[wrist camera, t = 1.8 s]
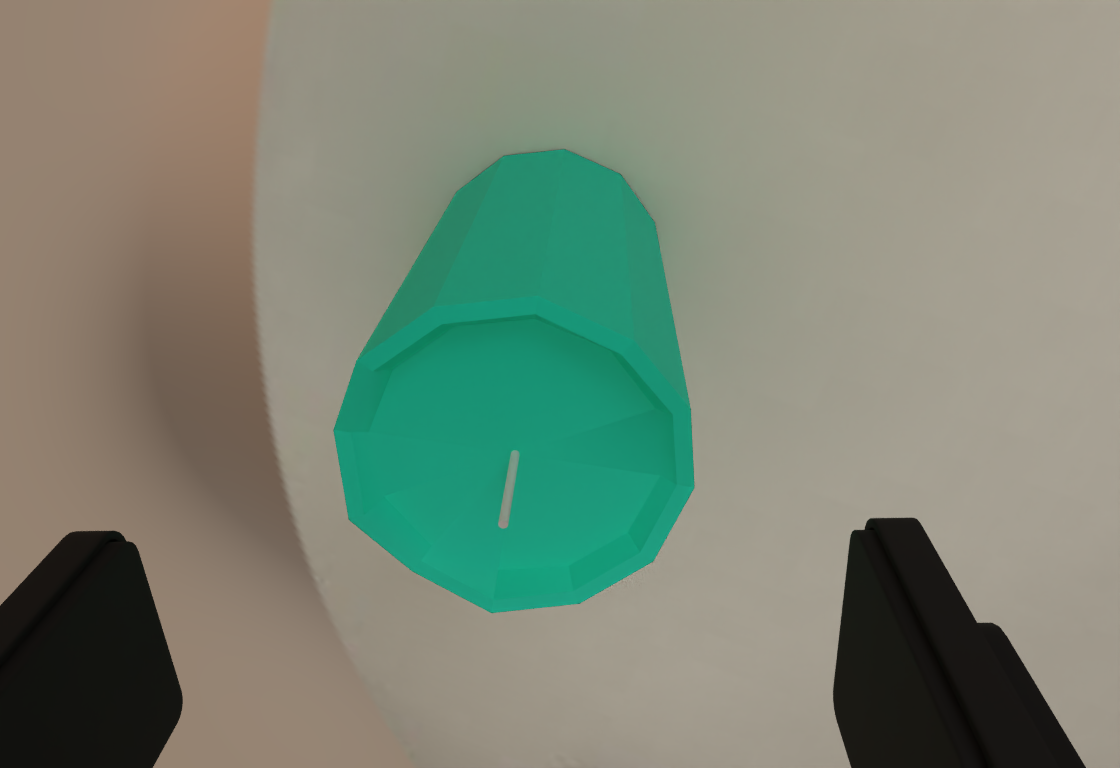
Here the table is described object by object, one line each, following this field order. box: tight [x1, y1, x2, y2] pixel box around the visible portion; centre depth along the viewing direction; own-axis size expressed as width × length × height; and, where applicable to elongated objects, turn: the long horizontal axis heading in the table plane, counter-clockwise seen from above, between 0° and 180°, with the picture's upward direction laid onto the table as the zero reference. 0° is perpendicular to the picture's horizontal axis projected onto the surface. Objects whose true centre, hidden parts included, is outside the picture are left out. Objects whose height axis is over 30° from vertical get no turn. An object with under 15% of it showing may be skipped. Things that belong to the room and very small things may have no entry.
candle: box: [334, 149, 694, 613], centre depth 18 cm, size 6×6×12 cm
